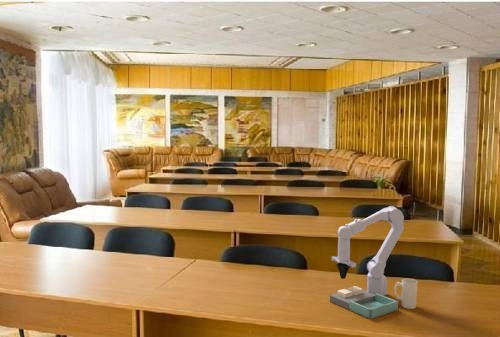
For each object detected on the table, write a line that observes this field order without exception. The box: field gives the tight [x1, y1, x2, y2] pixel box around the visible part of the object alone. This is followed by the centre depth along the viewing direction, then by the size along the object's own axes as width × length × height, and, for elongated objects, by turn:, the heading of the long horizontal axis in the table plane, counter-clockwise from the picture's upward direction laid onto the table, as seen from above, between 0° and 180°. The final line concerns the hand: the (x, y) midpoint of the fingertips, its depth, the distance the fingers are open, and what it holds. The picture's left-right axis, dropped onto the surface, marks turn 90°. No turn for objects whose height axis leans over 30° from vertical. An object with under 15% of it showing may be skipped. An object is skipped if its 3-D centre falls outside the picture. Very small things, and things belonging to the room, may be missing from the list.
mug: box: [393, 277, 418, 310], centre depth 216 cm, size 10×7×12 cm, turn 71°
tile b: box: [336, 288, 352, 298], centre depth 221 cm, size 5×5×2 cm
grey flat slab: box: [329, 289, 375, 311], centre depth 222 cm, size 18×12×3 cm, turn 124°
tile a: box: [347, 285, 364, 295], centre depth 225 cm, size 5×5×2 cm
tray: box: [348, 293, 399, 320], centre depth 212 cm, size 18×12×4 cm
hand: (343, 278), depth 232 cm, fingers closed
